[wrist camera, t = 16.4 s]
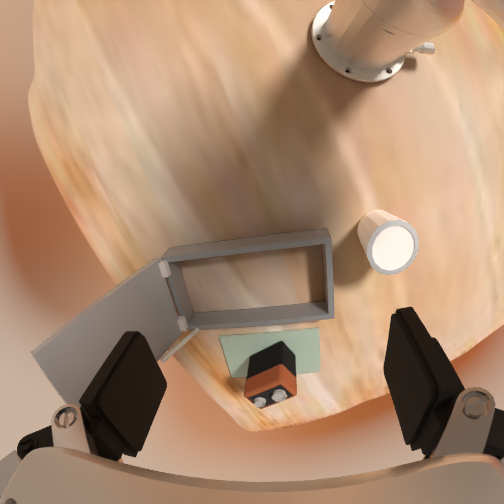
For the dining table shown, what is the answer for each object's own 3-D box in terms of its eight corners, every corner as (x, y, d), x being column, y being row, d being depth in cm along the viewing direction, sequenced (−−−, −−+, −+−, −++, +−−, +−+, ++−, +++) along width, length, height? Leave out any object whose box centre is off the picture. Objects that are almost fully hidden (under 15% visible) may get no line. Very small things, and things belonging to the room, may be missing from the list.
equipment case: (326, 228, 37) (343, 263, 27) (330, 304, 41) (343, 354, 31) (162, 248, 40) (128, 285, 30) (183, 317, 45) (161, 363, 34)
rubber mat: (318, 327, 43) (319, 328, 43) (320, 370, 47) (320, 371, 46) (219, 335, 45) (219, 336, 45) (232, 376, 49) (231, 377, 49)
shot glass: (406, 219, 35) (429, 237, 29) (382, 260, 38) (398, 284, 31) (368, 195, 35) (387, 209, 28) (343, 239, 37) (355, 261, 31)
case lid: (34, 355, 19) (30, 352, 19) (93, 433, 23) (88, 430, 23) (159, 259, 36) (154, 258, 37) (183, 332, 41) (178, 331, 41)
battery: (296, 354, 45) (298, 400, 36) (263, 370, 47) (259, 415, 38) (281, 338, 44) (281, 385, 35) (248, 355, 46) (241, 400, 37)
